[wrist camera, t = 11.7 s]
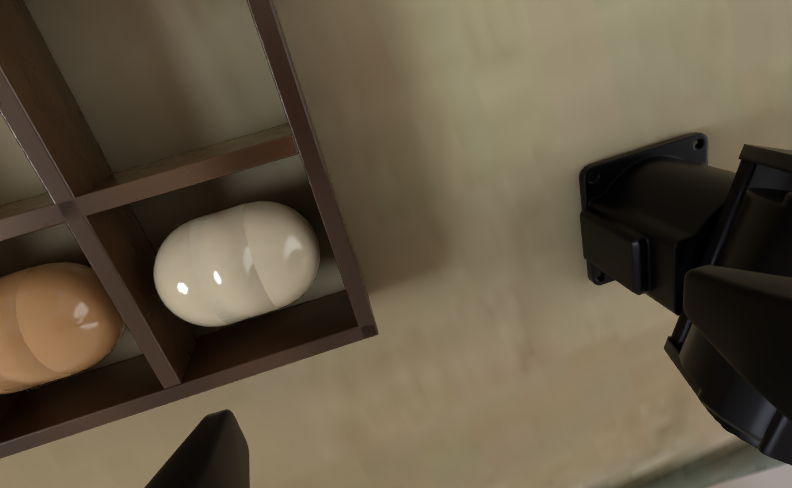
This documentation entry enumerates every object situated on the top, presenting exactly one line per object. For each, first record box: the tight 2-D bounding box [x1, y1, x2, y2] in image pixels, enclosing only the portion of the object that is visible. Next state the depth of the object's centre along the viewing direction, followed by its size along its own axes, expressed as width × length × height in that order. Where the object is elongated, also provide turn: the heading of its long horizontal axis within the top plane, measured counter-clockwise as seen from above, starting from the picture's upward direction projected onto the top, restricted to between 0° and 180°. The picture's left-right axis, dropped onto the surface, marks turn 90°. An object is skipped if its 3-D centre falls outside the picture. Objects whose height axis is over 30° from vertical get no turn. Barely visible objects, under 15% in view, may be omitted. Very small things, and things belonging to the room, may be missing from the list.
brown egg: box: [0, 262, 126, 394], centre depth 18 cm, size 6×4×4 cm
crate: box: [0, 0, 378, 458], centre depth 17 cm, size 17×17×4 cm
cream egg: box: [153, 201, 320, 327], centre depth 18 cm, size 6×4×4 cm
